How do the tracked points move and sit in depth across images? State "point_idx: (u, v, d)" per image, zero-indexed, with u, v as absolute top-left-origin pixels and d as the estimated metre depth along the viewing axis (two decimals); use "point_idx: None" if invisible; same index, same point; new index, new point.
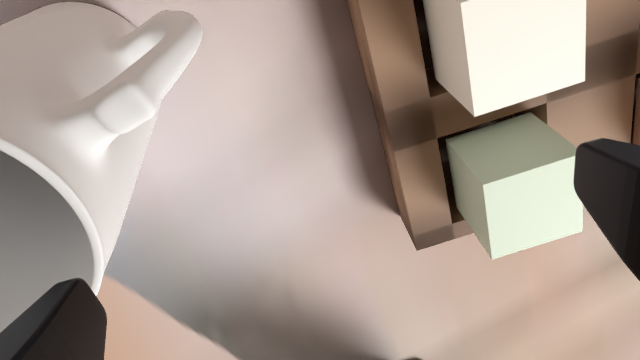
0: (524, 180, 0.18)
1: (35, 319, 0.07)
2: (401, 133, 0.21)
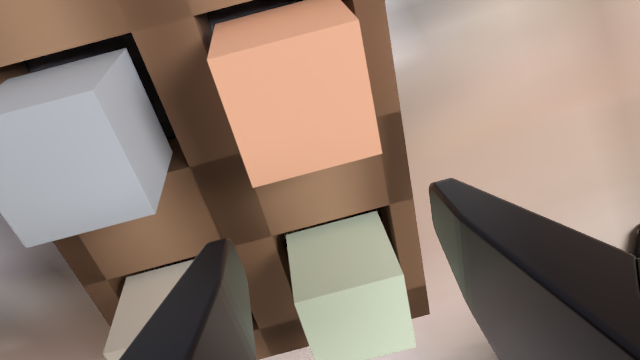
0: (320, 343, 0.18)
1: (207, 273, 0.07)
2: (292, 343, 0.23)
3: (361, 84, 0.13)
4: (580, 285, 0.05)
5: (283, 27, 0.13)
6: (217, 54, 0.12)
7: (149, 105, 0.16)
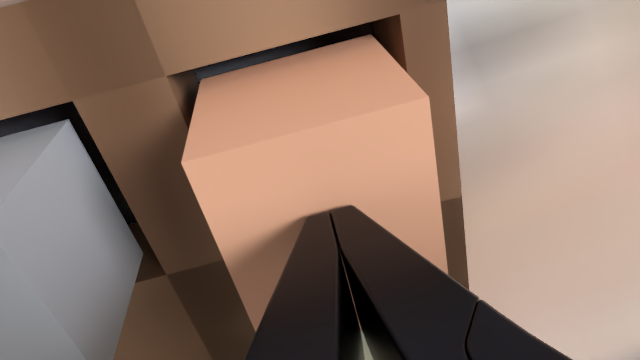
0: None
1: (321, 243, 0.07)
2: None
3: (425, 190, 0.08)
4: (416, 329, 0.05)
5: (303, 99, 0.09)
6: (199, 151, 0.08)
7: (106, 196, 0.11)
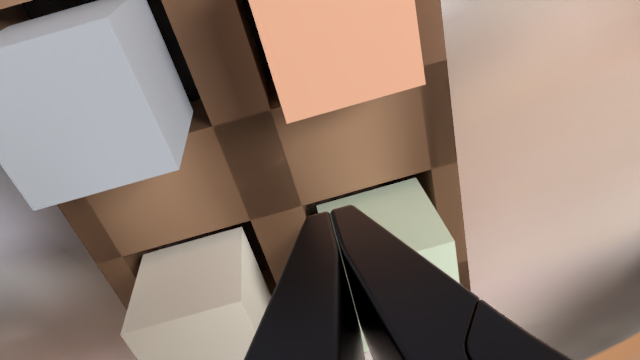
0: None
1: (321, 243, 0.07)
2: None
3: (405, 3, 0.12)
4: (416, 329, 0.05)
5: None
6: None
7: (167, 55, 0.15)
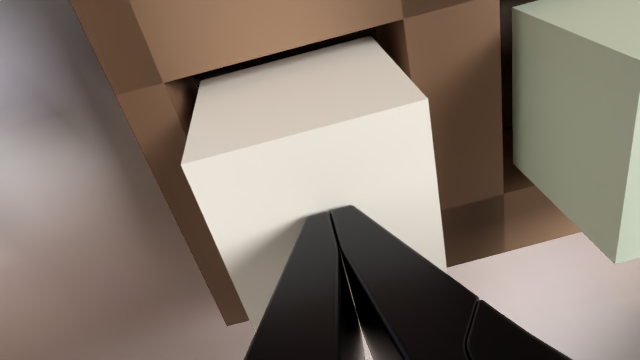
0: None
1: (321, 243, 0.07)
2: (476, 245, 0.13)
3: None
4: (416, 329, 0.05)
5: None
6: None
7: None
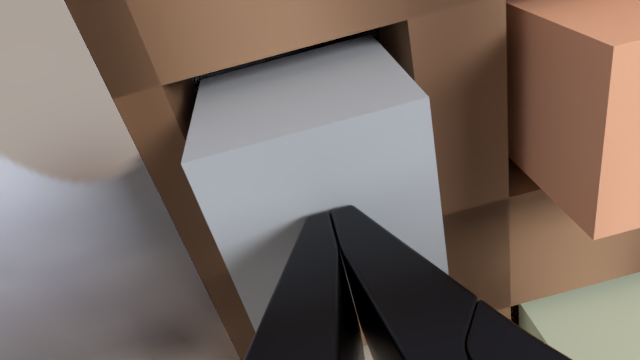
0: None
1: (321, 243, 0.07)
2: None
3: None
4: (416, 329, 0.05)
5: None
6: (620, 38, 0.08)
7: None
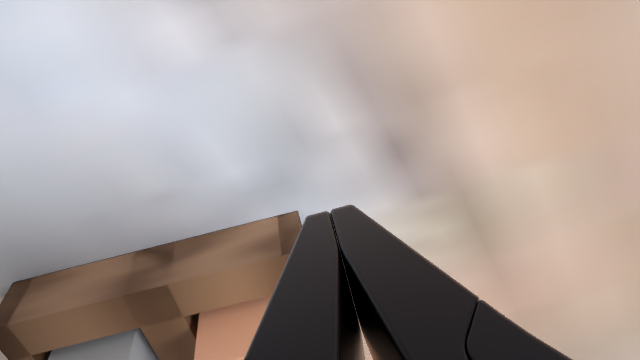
0: None
1: (321, 243, 0.07)
2: None
3: None
4: (416, 329, 0.05)
5: (243, 333, 0.20)
6: None
7: None
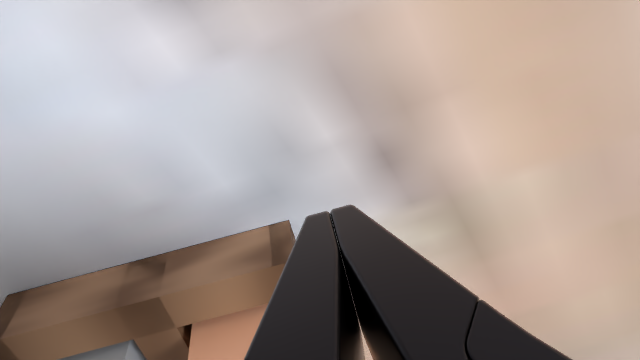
0: None
1: (321, 243, 0.07)
2: None
3: None
4: (416, 329, 0.05)
5: (235, 343, 0.21)
6: None
7: None
